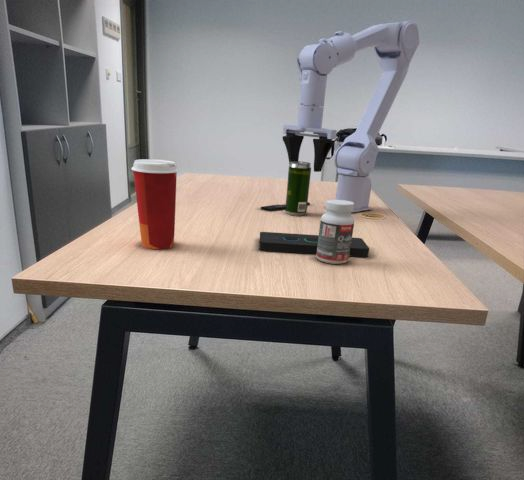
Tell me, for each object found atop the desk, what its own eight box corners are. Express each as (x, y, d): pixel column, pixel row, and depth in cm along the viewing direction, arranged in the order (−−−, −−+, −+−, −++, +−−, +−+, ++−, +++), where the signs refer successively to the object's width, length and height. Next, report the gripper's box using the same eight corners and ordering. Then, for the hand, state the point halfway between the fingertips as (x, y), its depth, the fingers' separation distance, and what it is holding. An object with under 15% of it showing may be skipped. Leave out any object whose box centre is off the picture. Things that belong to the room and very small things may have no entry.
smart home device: (259, 230, 92) (361, 237, 92) (259, 239, 93) (360, 245, 93) (259, 241, 84) (370, 248, 85) (259, 250, 85) (368, 257, 86)
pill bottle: (340, 266, 80) (349, 206, 75) (310, 259, 82) (317, 201, 78) (353, 259, 84) (362, 202, 79) (324, 253, 87) (331, 197, 82)
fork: (303, 203, 131) (303, 201, 131) (311, 205, 129) (311, 203, 129) (260, 209, 120) (260, 206, 120) (268, 211, 118) (269, 208, 118)
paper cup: (187, 243, 87) (186, 162, 80) (166, 253, 80) (163, 165, 74) (149, 237, 89) (146, 157, 82) (126, 246, 82) (120, 160, 76)
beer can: (310, 215, 117) (316, 163, 112) (295, 216, 114) (300, 164, 108) (296, 210, 121) (300, 160, 115) (280, 212, 118) (284, 161, 112)
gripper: (276, 103, 109) (272, 166, 116) (325, 107, 101) (318, 174, 107) (296, 105, 114) (291, 165, 120) (345, 108, 105) (336, 172, 112)
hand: (305, 169), depth 114 cm, fingers open, 7 cm apart
